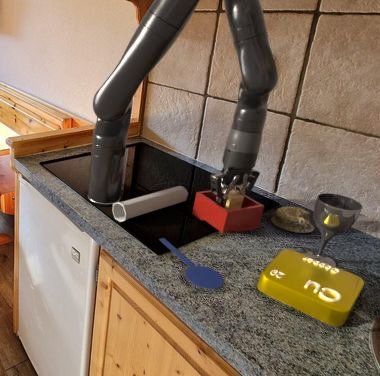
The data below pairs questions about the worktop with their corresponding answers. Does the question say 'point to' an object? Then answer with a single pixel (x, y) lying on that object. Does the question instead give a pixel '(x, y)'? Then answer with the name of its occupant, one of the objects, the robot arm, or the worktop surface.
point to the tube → (148, 203)
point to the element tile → (311, 286)
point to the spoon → (197, 271)
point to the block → (233, 200)
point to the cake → (292, 219)
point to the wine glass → (333, 220)
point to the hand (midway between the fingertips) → (227, 208)
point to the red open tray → (227, 213)
